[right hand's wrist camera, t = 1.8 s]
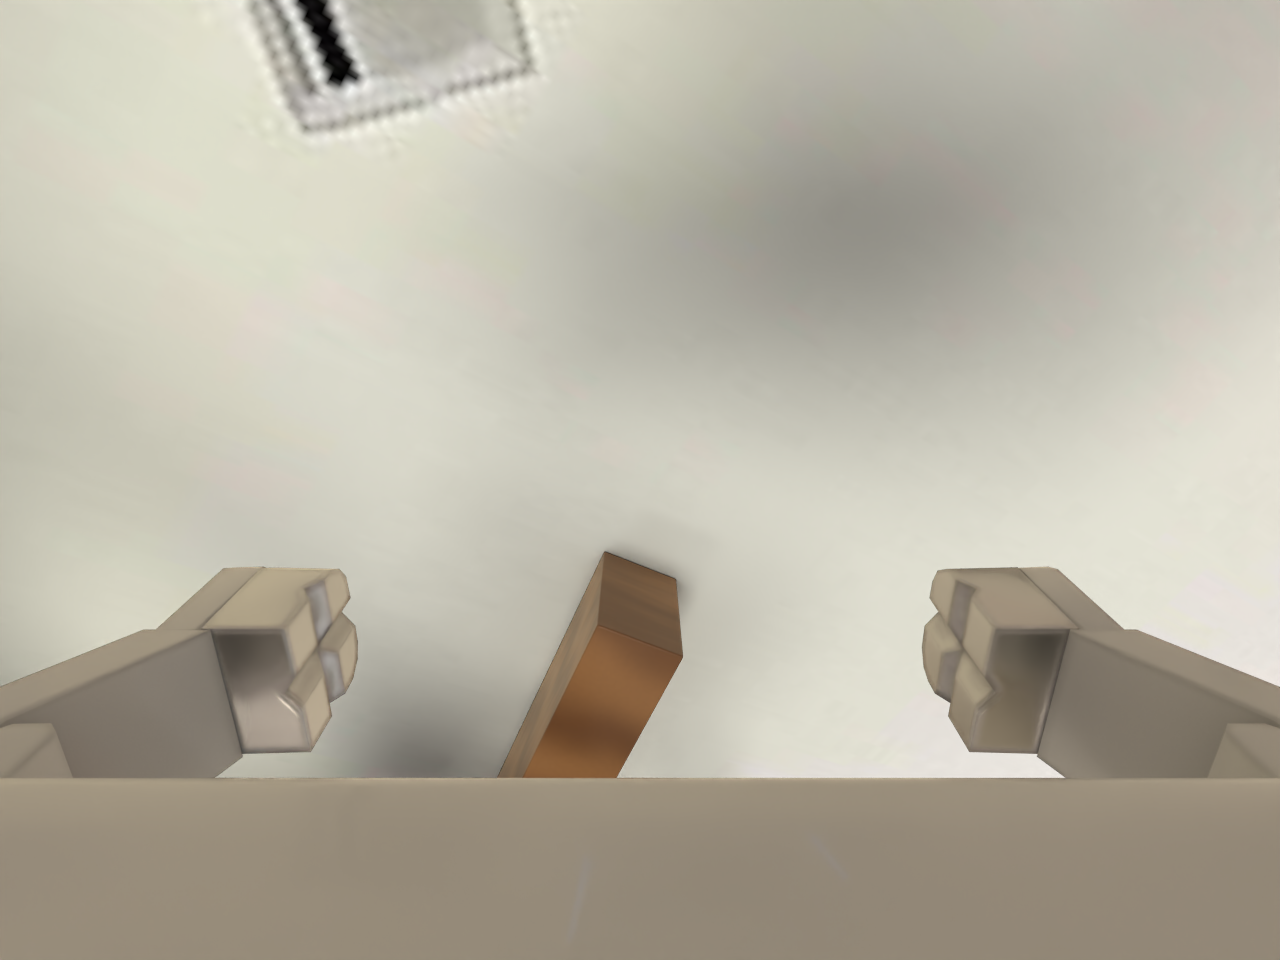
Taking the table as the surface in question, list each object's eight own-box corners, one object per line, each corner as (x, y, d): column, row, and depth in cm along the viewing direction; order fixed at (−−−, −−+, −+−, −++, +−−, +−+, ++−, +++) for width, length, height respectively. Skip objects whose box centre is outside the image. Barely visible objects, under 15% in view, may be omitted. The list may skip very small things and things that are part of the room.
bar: (604, 550, 44) (597, 624, 37) (676, 578, 45) (683, 656, 37) (479, 813, 52) (452, 919, 44) (542, 834, 53) (526, 940, 45)
